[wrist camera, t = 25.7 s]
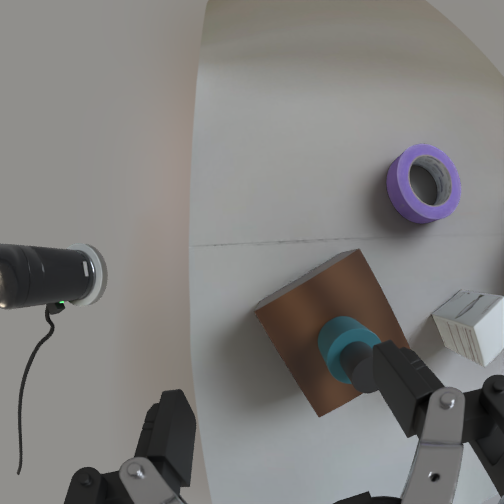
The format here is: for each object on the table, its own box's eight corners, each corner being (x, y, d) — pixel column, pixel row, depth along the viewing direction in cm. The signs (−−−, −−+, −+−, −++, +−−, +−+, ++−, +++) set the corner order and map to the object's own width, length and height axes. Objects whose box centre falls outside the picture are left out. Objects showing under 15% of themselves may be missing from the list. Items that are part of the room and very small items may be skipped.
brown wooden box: (311, 387, 42) (318, 417, 32) (259, 301, 43) (253, 311, 33) (388, 341, 41) (414, 359, 31) (341, 252, 42) (359, 248, 32)
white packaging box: (460, 288, 40) (506, 293, 27) (473, 323, 39) (517, 336, 27) (429, 313, 40) (473, 326, 28) (443, 348, 40) (485, 369, 27)
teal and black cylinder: (313, 359, 32) (328, 404, 20) (322, 313, 32) (345, 337, 20) (358, 364, 32) (391, 407, 20) (368, 319, 32) (410, 344, 20)
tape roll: (413, 238, 41) (427, 234, 36) (371, 175, 42) (382, 165, 37) (457, 199, 41) (472, 193, 36) (419, 143, 42) (431, 131, 37)
